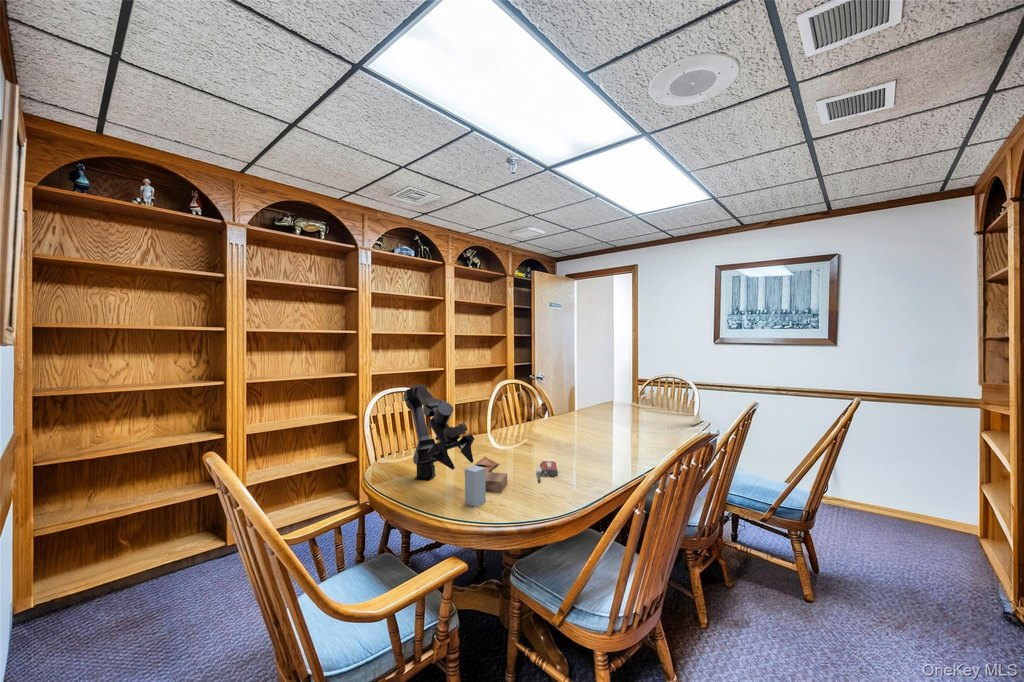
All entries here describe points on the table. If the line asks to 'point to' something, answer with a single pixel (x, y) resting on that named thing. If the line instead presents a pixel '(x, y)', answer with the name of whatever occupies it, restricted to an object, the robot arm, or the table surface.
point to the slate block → (475, 486)
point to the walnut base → (495, 481)
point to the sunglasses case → (487, 464)
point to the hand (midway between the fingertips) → (463, 465)
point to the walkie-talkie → (547, 469)
